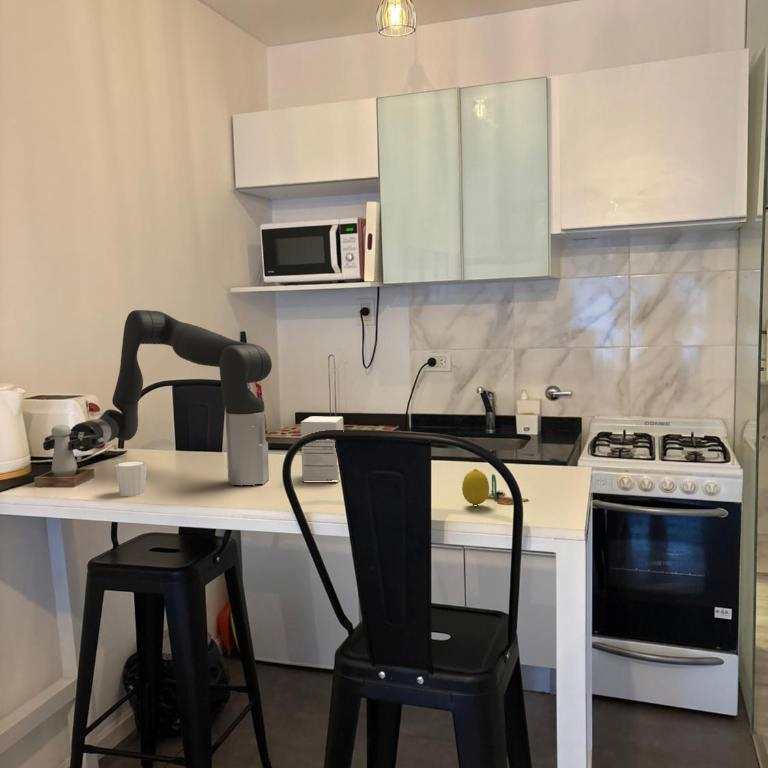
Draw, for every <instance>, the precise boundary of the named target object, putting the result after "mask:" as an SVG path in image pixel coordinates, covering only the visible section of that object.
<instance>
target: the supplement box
mask: <svg viewBox="0 0 768 768" xmlns="http://www.w3.org/2000/svg"><path fill="white" fill-rule="evenodd" d="M325 430H343V431H344V417H343V416H318V415H317V416H315V415H313V416H309V417H307V418H305V419H304V420H302V421H300V439H301V438H302V437H304V436H306V435H308V434H311V433H315V432H319V431H325ZM301 473H302V475H301V477H302V482H303V481H332V480H339V472H338V465H337V456H336V448H335V441H334V440H330V439H326V440H316V441H313V442H310V443H308V444H306V445H305V446H303V447H302V448H301Z"/></svg>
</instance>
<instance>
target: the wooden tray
mask: <svg viewBox="0 0 768 768" xmlns="http://www.w3.org/2000/svg"><path fill="white" fill-rule="evenodd" d="M91 478H92V479H94V478H95V468H77V471H76V474H75V476H73V477H56V476H55V475H54V473H53V472H52V470H49V471H47V472H45V473H43V474H40V475H37V476H35V477H34V478H33V480H34V487H38V488H41V487H44V488H45V487H46V488H48V487H52V488H53V487H55V488H57V487H58V488H59V487H61V488H68V487H69V488H75V487H77V486H79V485H81V484H83V482H84V483H86V482H88V481H90V480H92V479H91ZM89 479H90V480H89ZM87 480H88V481H87ZM85 481H86V482H85Z"/></svg>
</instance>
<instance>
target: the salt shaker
mask: <svg viewBox="0 0 768 768" xmlns="http://www.w3.org/2000/svg"><path fill="white" fill-rule="evenodd" d="M71 429H72V428H71V427H70V425H67V424H60V425H55V426H53V427H52V428H51V435H52V436H54V437H55V445H54V449H53V455H52V464H51V471H52V472H53V473H54V475H55V476H56V477H73V476H75V474H76V471H77V469H78V464H77V460H76V458H75V457H76V456H75V453H74V450H69V449H68V442H69V441H70V439H69V434H71Z"/></svg>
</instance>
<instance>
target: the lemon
mask: <svg viewBox="0 0 768 768" xmlns="http://www.w3.org/2000/svg"><path fill="white" fill-rule="evenodd" d="M489 483H490V482H489V479H488V477H487V476H486V474H485V473H483V472H482V471H480V470H479V469H477V468H474V469H473V470H471V471H469V472H467V474H465V476H464V478H463V480H462V487H461V490H462V495H463V498H464V499H465V500H466V502H467V503H469V504H471V505H472V504H473V505H478V504H479V505H481V504H483V503H484V502H485V501H486V500H487V499H488V497H489V494H490V485H489ZM473 505H472V506H473ZM479 505H478V506H479Z"/></svg>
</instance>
